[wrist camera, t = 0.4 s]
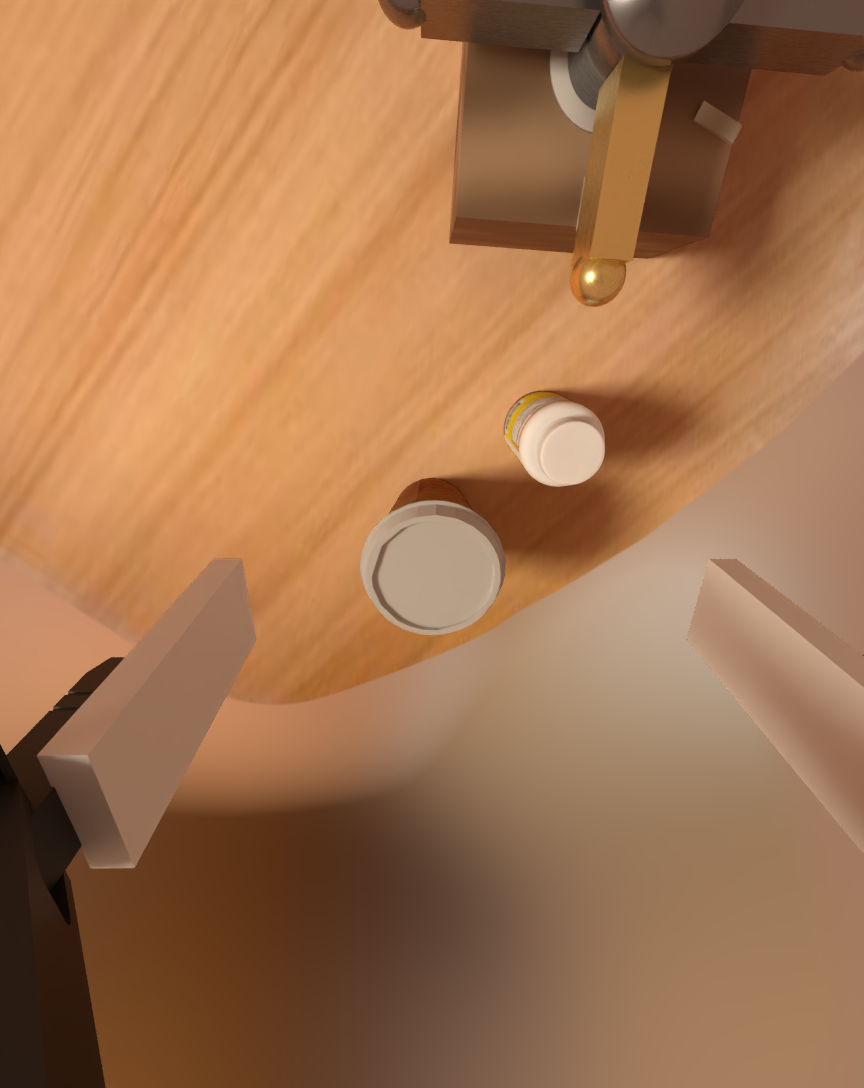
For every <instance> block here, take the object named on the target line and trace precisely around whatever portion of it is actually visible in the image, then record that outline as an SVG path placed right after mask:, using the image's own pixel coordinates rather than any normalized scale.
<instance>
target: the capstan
mask: <svg viewBox="0 0 864 1088" xmlns="http://www.w3.org/2000/svg"><path fill="white" fill-rule="evenodd" d="M379 3H380V6H381V8H382V10H383V12H384V13H385V15H386V16H387V18H388V19H389V20H390V21H391V22H392V23H393V24H395V25H396V26H398V27H400V28H402V29H414V28H417V27H419V26H421V38H428V39H439V40H450V41H460V42H471V43H482V44H492V45H503V46H514V47H525V48H535V49H546V50H557V51H567V52H568V71H569V76H570V81H571V84H572V86H573V89H574V91H575V93H576V94H577V96H578V97H579V99H580V100H581V101H582V102H583V103H584V104H585V105H587V106H588V107H590V108H591V109H593V110H596V112H595V119H594V125H593V131H592V138H591V144H590V150H589V157H588V163H587V169H586V176H585V182H584V188H583V195H582V201H581V207H580V214H579V220H578V226H577V233H576V239H575V245H574V252H573V258H572V264H571V266H574V267H573V269H572V272H571V277H570V285H571V290H572V293H573V295H574V297H575V298H576V299H577V300H578V301H579V302H580V303H582V304H583V305H586V306H590V307H598V306H602V305H604V304H607V303H608V302H610V301H611V300H613V299H614V298H615V297H616V296H617V295H618V293H619V292H620V291H621V289H622V287H623V285H624V282H625V278H626V266H625V263H627V262H630V261H633V256H634V251H635V246H636V241H637V236H638V231H639V226H640V221H641V216H642V212H643V207H644V202H645V197H646V192H647V187H648V182H649V177H650V172H651V167H652V162H653V157H654V152H655V147H656V142H657V137H658V132H659V127H660V123H661V118H662V113H663V108H664V103H665V98H666V93H667V88H668V83H669V78H670V73H671V68H672V64H676V63H679V62H685V63H696V64H707V65H718V66H728V67H739V68H750V69H760V70H771V71H782V72H793V73H803V74H814V75H827V74H829V73H830V72H832V71H833V70H835V69H836V68H838V67H839V66H841V65H842V66H843V67H844V68H845V69H847V70H850V71H864V0H379Z"/></svg>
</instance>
